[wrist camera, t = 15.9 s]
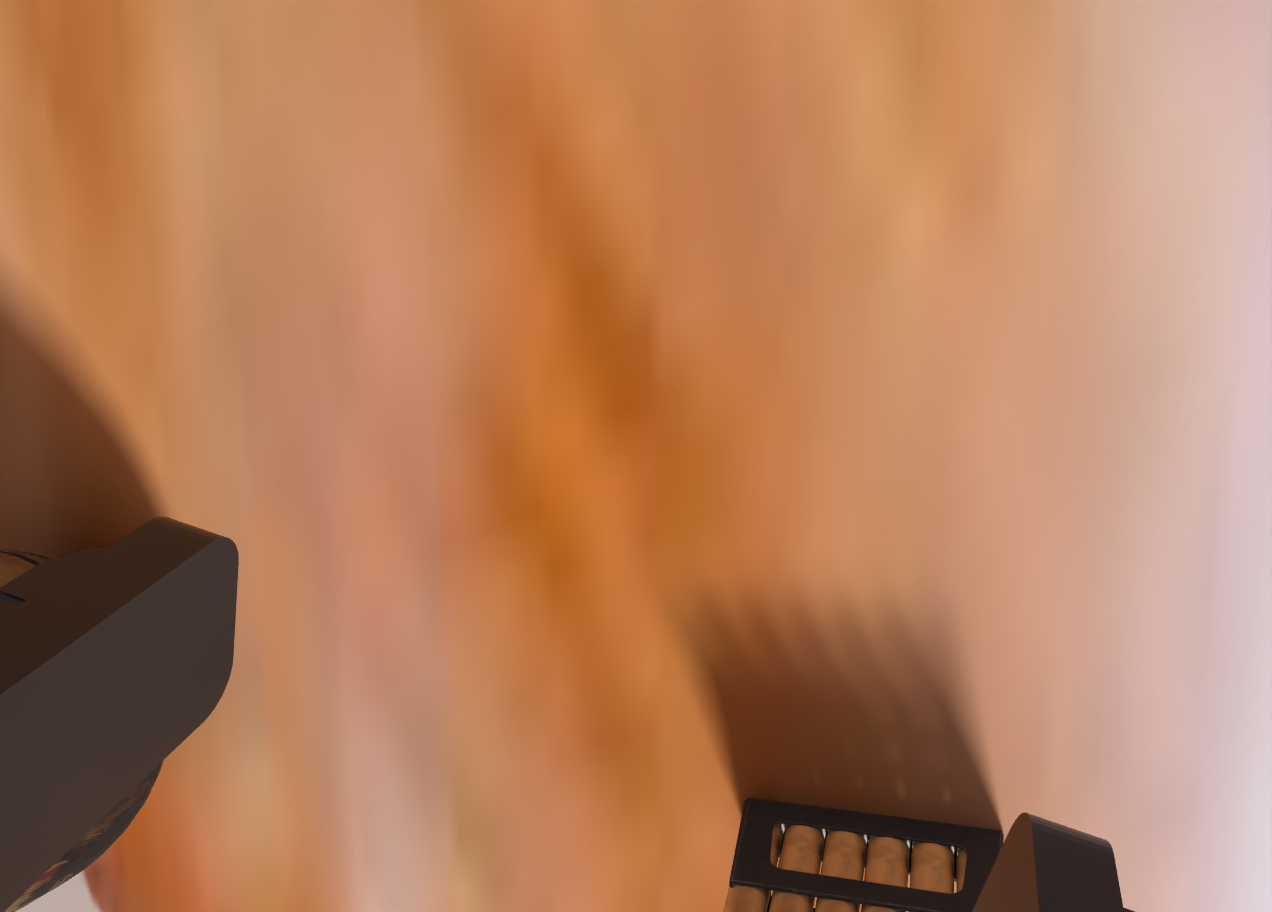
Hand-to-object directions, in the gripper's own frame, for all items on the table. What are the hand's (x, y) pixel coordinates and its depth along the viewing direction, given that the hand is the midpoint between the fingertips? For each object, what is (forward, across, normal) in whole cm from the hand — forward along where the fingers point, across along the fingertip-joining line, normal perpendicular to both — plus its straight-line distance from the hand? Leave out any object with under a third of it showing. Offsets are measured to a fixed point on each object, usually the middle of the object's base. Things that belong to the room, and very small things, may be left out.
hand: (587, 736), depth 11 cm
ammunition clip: (+30, -8, +25) cm, 40 cm away
